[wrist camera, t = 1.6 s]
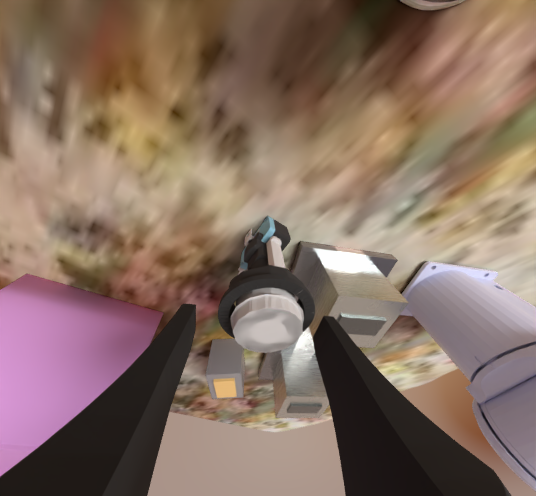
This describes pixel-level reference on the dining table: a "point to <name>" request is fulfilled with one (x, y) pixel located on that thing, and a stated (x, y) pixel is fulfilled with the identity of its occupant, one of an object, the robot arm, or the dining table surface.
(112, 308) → the teapot
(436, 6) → the coffee can
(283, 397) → the rail plate
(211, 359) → the block
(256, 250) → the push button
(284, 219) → the dining table surface
